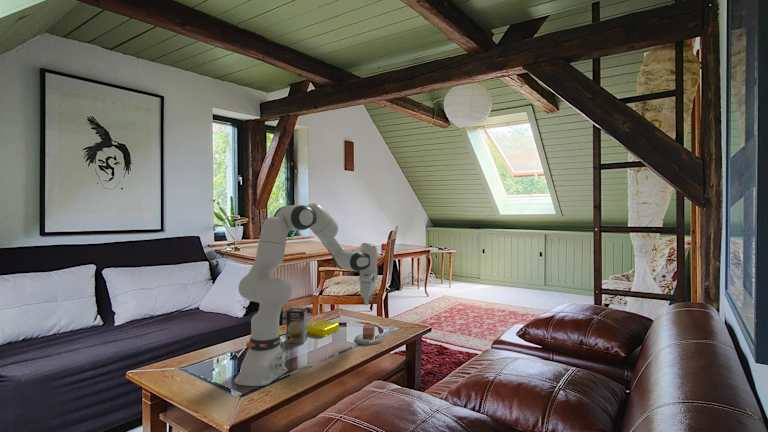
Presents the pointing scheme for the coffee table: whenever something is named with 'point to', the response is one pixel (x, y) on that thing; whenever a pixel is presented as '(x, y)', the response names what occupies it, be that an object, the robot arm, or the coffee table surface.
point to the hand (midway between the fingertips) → (368, 302)
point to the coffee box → (296, 325)
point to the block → (368, 331)
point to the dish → (360, 340)
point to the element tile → (322, 328)
